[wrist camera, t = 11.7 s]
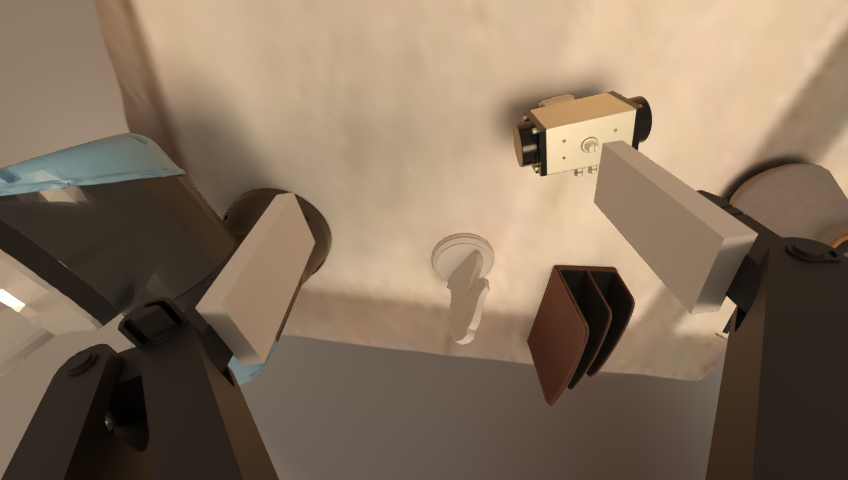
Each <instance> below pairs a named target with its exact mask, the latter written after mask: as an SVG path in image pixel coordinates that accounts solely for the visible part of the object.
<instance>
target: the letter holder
mask: <svg viewBox="0 0 848 480" xmlns="http://www.w3.org/2000/svg"><path fill="white" fill-rule="evenodd" d="M634 306H635V301H634V298H633V296H632V294H631V293H630V291H629V290H628V288H627V286H626V285H625V283H624V281H623V280H622V278H621V277H620V275H619V274H618V272H617V270H616V268H614V267H613V268H611V267H586V266H558V265H556V266H554V269H553V271H552V275H551V278H550V281H549V283H548V286H547V289H546V292H545V294H544V297H543V300H542V302H541V305H540V308H539V311H538V314H537V316H536V319H535V322H534V325H533V328H532V330H531V333H530V336H529V339H528V345H529V348H530V351H531V355H532V358H533V361H534V365H535V368H536V371H537V375H538V378H539V381H540V384H541V387H542V390H543V394H544V397H545V400H546V402H547V403H548V404H549V405H551V406H552V405H553V404H554V403H555V402H556V401H557V400H558V399H559V398H560V396H561V395H562V393H563V392H564V390H565V389H566V387H568V388H569V389H574V387H576V386H577V384H578V383H579V382H580V381H581V379H582V378H583V377H584V375H585V374H586V373H587V375H588V376H589V377H593V376H594V375H596V374H597V373H598V371H599V370H600V369H601V368H602V366H603V365H604V364H605V362H606V361H607V359H608V358H609V356H610V355H611V353H612V352H613V350H614V349H615V347H616V345H617V344H618V342H619V340H620V338H621V337H622V335H623V333H624V331H625V329H626V327H627V325H628V323H629V320H630V318H631V316H632V313H633V310H634Z"/></svg>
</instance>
